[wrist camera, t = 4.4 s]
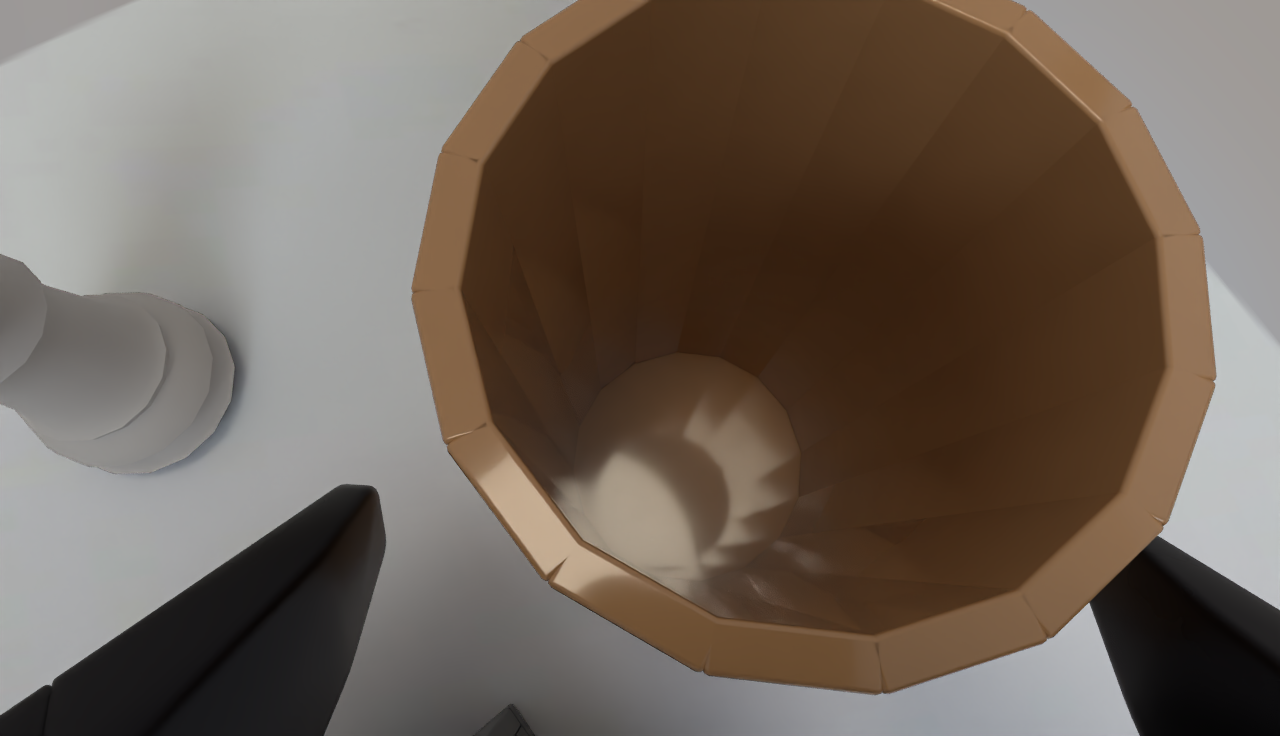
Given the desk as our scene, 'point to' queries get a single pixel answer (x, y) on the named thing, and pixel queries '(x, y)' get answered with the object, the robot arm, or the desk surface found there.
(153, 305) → the rook chess piece
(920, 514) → the wooden cup
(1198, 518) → the desk surface
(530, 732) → the bin
